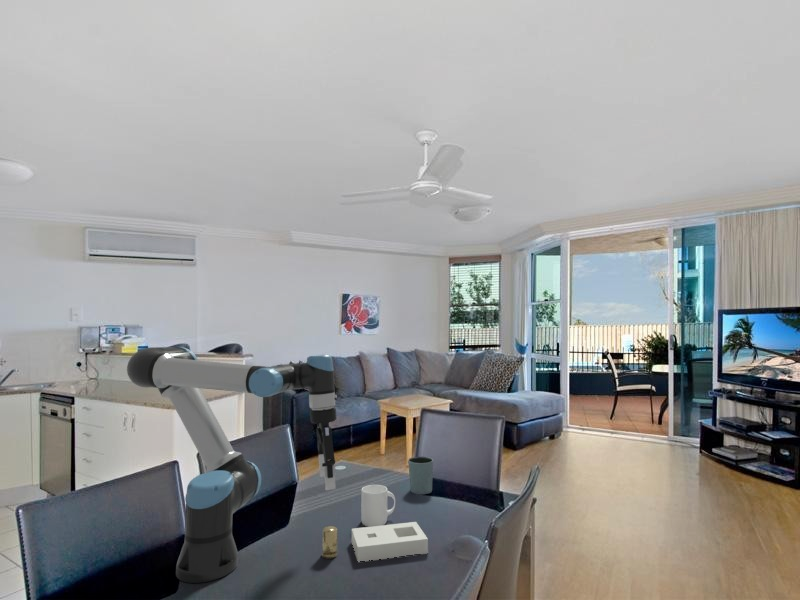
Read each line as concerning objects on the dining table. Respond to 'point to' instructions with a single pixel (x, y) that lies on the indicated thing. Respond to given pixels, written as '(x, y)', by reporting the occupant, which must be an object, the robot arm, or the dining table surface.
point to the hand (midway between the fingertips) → (327, 482)
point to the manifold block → (388, 541)
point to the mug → (375, 505)
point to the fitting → (329, 542)
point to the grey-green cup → (420, 474)
